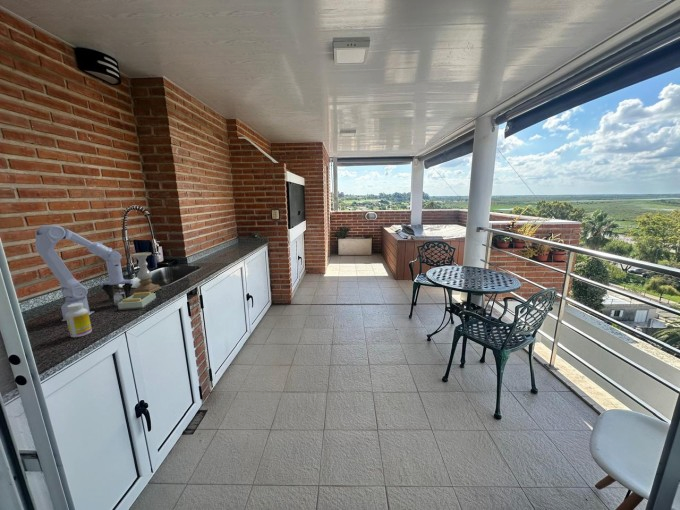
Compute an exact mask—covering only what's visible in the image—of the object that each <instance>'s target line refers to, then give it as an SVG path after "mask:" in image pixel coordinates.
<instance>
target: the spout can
mask: <svg viewBox="0 0 680 510" xmlns="http://www.w3.org/2000/svg"><path fill="white" fill-rule="evenodd" d="M113 297H114V298H113V302H114V306H116V307H118V303H119V302H121V301H122V300H123V299H126V296H125V291H122V289H118V292H113Z"/></svg>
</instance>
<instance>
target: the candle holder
mask: <svg viewBox="0 0 680 510" xmlns="http://www.w3.org/2000/svg"><path fill="white" fill-rule="evenodd" d="M151 255H152V252H151V251H150V252H149V251H145V252H144V251H143V252H135V253H131V254H130V257H131V258H136V260H138V263H137V265H136V266H138V268H139V271H138V272H137V275H136V278H137V279H138V280H139V282H138V283H139V284H140V285H139V286H138V287H136V288H134V289H133V291H132V292H131V296H132V295H134V293H143V292H151V293H154V292H155V291H157V290H159V289H161V290H162V286H160V284H154V283H152V279H151V278H152V276H153V273H152V272H151V271H150V270H149V269H148V265H149V264H148V262H147V260H146V259H147V258H148V256H151ZM155 293H156V292H155Z"/></svg>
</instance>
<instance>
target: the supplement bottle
mask: <svg viewBox="0 0 680 510" xmlns="http://www.w3.org/2000/svg"><path fill="white" fill-rule="evenodd" d="M67 309H68V310H69V312H67V313H66V320H67V321H66V323H67V328H68V332H69V336H70V337H71V338H81V337H83V336H86V335H89V334H91V333H92V332H93V328H92V324H91V319H90V315H89V314H88V310H87V309H85V308H83V303H75V304H71V305H68V306H67Z"/></svg>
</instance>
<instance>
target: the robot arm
mask: <svg viewBox="0 0 680 510" xmlns="http://www.w3.org/2000/svg"><path fill="white" fill-rule="evenodd" d="M34 234H35V235H34V236H35V242H34V249H35V251H36V252H37V253H38V254H39V257H40V258H41V259H42V260H43V262H44V263H45V264H46V265H47V267H48V269H49V270H50V271H51V272H52V274H53V275H54V277H55V278H56V279H57V281H58V282H59V287H60V288H61V293H62V295H63V296H65V302H63V304H62V305H61V310H60V311H61V314H62V318H63V319H61V321H62V322H67V320H66V313H67V312H69V310H68V309H67V306H68V305H71V304H75V303H83V308H85V309H87V310H88V314H89V316H90V315H92V314H94V313H95V311H94V310H93V311H90V306H89V301H88V297H87V295H88V293H89V289H88V288H87V287H86V286H84V285H82V284H81V283H80V282H79V280H77V279H76V278H75V277H74V276H73V274H72V272H71V271H70V270H69V268H68V267H67V265H66V264H65V263H64V262H63V261H64V260H63V259H62V258H61V257H60V255H59V254H58V253H57V251H56V250H55V247H56V245H57V244H58V243H59V242H61V240H69V241H71V242H73V243H76V244H78V245H80V246H83V247H84V248H87V251H88V252H89V253H91V254H93V255H95V256H97V257H100V258H102V259H103V261H105V263H106V264H105V265H106V269H107V275H108V280H105V281H104V280H103V281H101V282H100V286H101V289H102V290H104V292H105V293H106V294H107V296H108V297H109V299H110V300H112V299H114V297H113V294H114V285H115V286H116V285H117V286H119V285H121V287H122V289H123V292H125V296H126V298H128V297H130V296H131V290H132V287H133V285H134V279H126V278H124V276H123V271H122V263H121V260H122V257H123V256H122V254H121V253H120V252H119V251H118V250H113V248H112V247H108V246H107V245H104V244H103V242H101V241H99V242H98V241H93V242H92V241H90V240H89V239H87V238H85V237H83V236H81V235H79V234H78V233H75V232H74V231H72V230H70V229H68V228H64V227H63V226H60V225H58V224H57V225H55V224H54V225H50V224H49V225H48V224H44V225H40V227H38V228H37V230H36V231H35V233H34Z"/></svg>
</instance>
